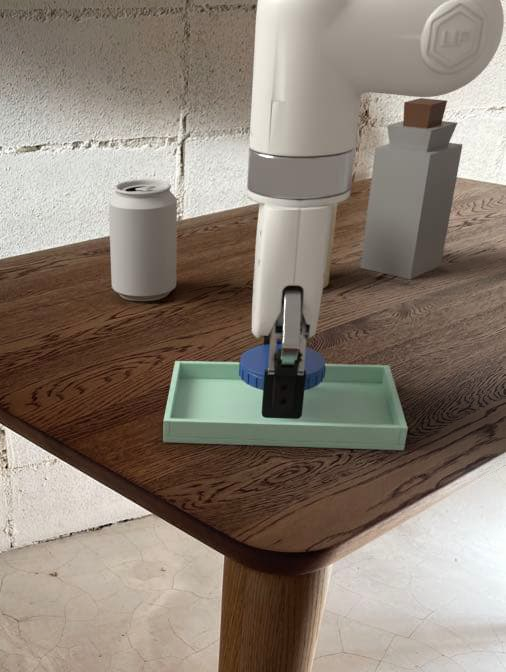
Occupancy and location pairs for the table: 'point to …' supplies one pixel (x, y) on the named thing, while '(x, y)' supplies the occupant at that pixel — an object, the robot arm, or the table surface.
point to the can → (143, 239)
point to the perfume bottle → (411, 192)
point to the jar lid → (257, 363)
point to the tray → (307, 431)
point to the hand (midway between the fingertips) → (280, 394)
